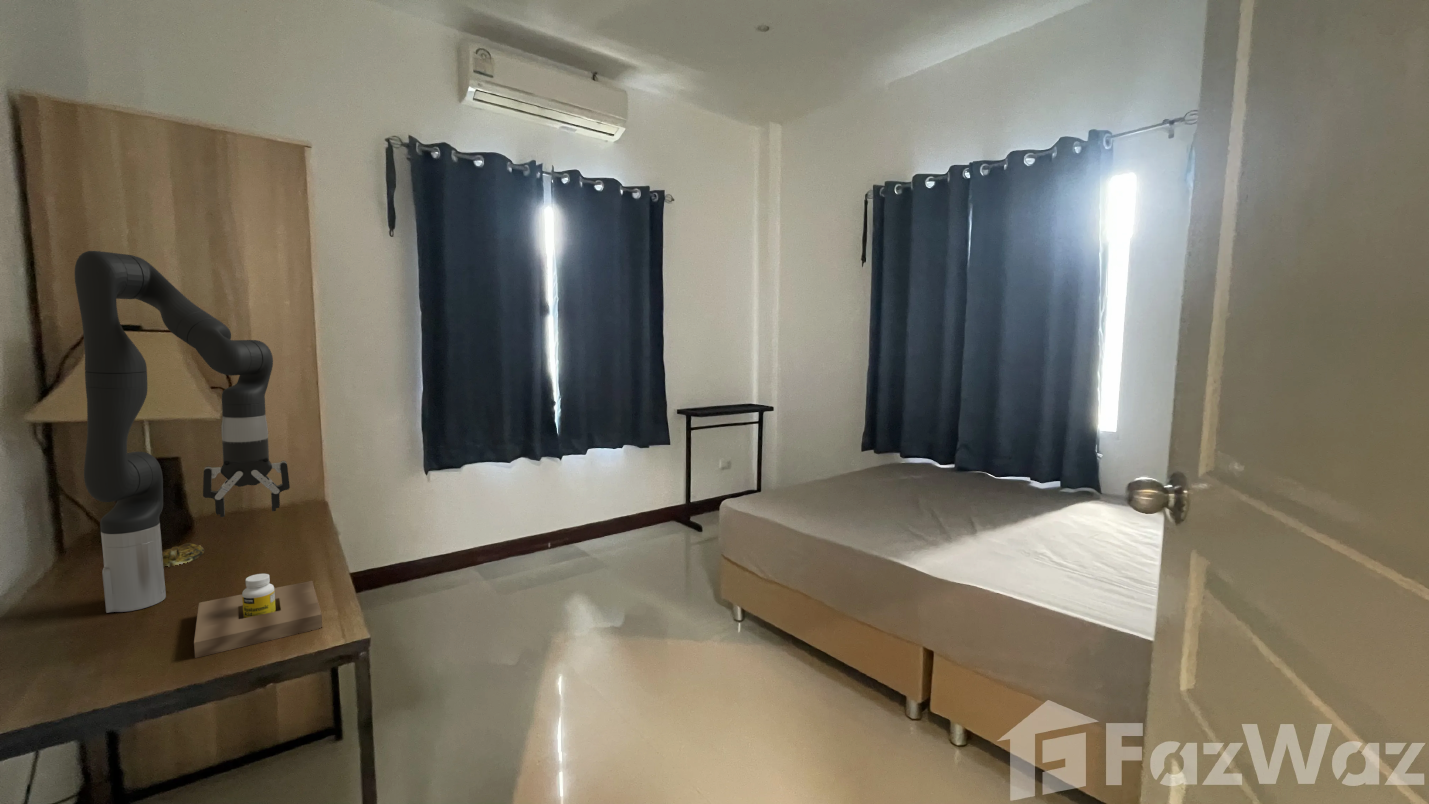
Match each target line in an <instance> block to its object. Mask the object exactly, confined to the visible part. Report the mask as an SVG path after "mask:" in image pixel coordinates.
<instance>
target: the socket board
mask: <svg viewBox="0 0 1429 804" xmlns="http://www.w3.org/2000/svg"><path fill="white" fill-rule="evenodd" d="M274 590H275V607H276V612H271V613H266V614H262V615H257V616H252V617H248V618H244V617H243V601H242V594H236V595H231V596H227V597H221V598H216V599H211V600H207V601H202V602H201V601H200V602H199V603H198V608H197V615H196V623H195V632H194V640H193V646H194V658H195V659H197V658H201V657H205V656H209V655H213V654H214V655H215V654H218V653H222V652H225V651H226V652H227V651H230V650H231V651H232V650H235V649H239V648H243V647H248V646H252V645H256V644H260V643H264V642H269V641H273V640H277V639H281V638H285V637H286V638H287V637H290V636H294V635H299V634H302V633H306V632H311V630H312V631H315V630H316V631H317V630H320V629H322V628H323V614H322V611H321V606H320V604H319V599H318V596H317V592H316V590H315V587H314V581H313V580H309V581H305V582H299V583H294V584H293V583H292V584H288V585H284V586H278V587H274ZM321 627H322V628H321ZM319 628H320V629H319ZM298 633H299V634H298Z"/></svg>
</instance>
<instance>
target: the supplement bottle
mask: <svg viewBox="0 0 1429 804" xmlns="http://www.w3.org/2000/svg"><path fill="white" fill-rule="evenodd" d="M270 578H271V577H270V574H269V573H256V574H252V575H249V576H248V577H246V578H245V588H244V589H243V591H242V601H243V617H244V618H248V617H252V616H257V615H262V614H266V613H271V612H276V607H275V590H274V588H275V586H274V584H272V583H270V581H271V580H270Z"/></svg>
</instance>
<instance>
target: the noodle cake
mask: <svg viewBox="0 0 1429 804" xmlns="http://www.w3.org/2000/svg"><path fill="white" fill-rule="evenodd" d="M203 554H205V549H204V547H203V546H201V545H200V544H195V543H184V544H181V545H179V546H172V547H171V548H169V549H165V550H164V551H162V556H163V567H165V566H168V567H167V568H171V566H174V567H176V566H175V565H178V566H180V565H179V564H181V565H183V563H185V564H188V563H190V562H192V561H195V560H197V559H199V558H200V557H201V556H202V555H203ZM187 562H188V563H187Z"/></svg>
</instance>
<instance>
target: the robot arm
mask: <svg viewBox="0 0 1429 804" xmlns="http://www.w3.org/2000/svg"><path fill="white" fill-rule="evenodd" d="M74 283H75V289H76V295H77V301H78V305H79V306H78V307H79V312H80V317H81V324H82V325H81V326H82V332H83V344H84V345H83V347H84V381H85V395H86V412H87V414H86V416H87V417H86V419H87V420H86V421H87V423H86V426H87V427H86V429H87V430H86V431H87V435H86V445H85V446H86V447H85V455H84V467H83V480H84V484H85V488H86V490H87V492H88V494H89V495H90V496H91V497H92V498H93V499H94V500H97V501H99V502H101V503H102V502H103V503H113V502H116V503H115V505H114V506H113V508H111V510H109V511H108V512H107V513H106V514H104V515H103V516H102V518H100V522H99V527H100V536H101V546H102V557H103V568H102V571H101V572H102V582H103V593H104V602H105V612H106V614H107V613H114V612H115V613H123V612H132V611H137V610H142V609H145V608H149V607H152V606H154V605H156V604H160V603H161V602H162V601H163V600H165V599H166V598H167V594H166V590H167V589H166V585H165V584H166V583H165V570H164V569H165V567H164V566H163V556H162V553H163V546H162V545H163V544H162V534H161V522H160V516H161V514H162V511H163V508H164V478H163V477H164V476H163V471H162V468H161V467H162V466H161V465H160V463H159V461H158V459H157V458H156V457H155V456H153V455H152V454H150V453H149V452H145V451H131V452H128V437H129V433H130V430H131V427H132V426H133V423H134V421H135V420H136V418H137V417H138V415H139V413H140V411H141V410H142V407H143V405H144V404H145V402H146V401H145V400H146V398H147V395H148V369H147V362H146V360H145V358H144V356H143V355H142V353H141V352H140V351H139V349H138V347H137V346H136V345H135V344H134V342H133V340H132V339H130V337H129V335H128V334H127V333H126V332H125V330H124V328H123V326H122V324H121V322H120V319H119V313H118V307H117V306H118V305H117V304H118V303H117V300H138V301H141V302H144V303H145V304H147V305H149V306H152V307H154V308H155V309H156V310H158V311H159V313H160V317H161V320H162V322H163V324H164V326H165V327H166V328H167V329H168V330H169V332H170V333H172V334H173V335H174V336H176V337H177V338H179V339H180V341H181V340H182V341H183V342H184V343H186V344H187V345H189V346H190V347H192V348H193V349H195V350H196V352H197V353H198V354H199V356H200V357H201V358H202V359H203V360H204V361H205V363H206V365H208V367H209V368H211V370H214V371H215V372H217V373H219V374H222V375H224V376H231V377H232V376H238V379H237V382H236V383H235V384H234V385H231V386H230V387H227V388H225V389H224V390H223V391H222V393H221V409H222V410H221V411H222V421H221V441H222V444H221V445H222V446H221V447H222V459H223V460H222V462H223V463H222V466H221V467H220V466H219V467H211V466H209V465H208V466H205V467H204V469H203V476H202V477H203V480H202V482H203V483H202V496H203V498H205V499H213V500H214V503H215V504H214V505H215V507H214V508H215V514H216V515H217V516H218V515H219V517H220V518H225V516H226V512H225V511H226V509H225V506H226V505H225V497H224V496H225V495H226V494H227V493H228V492H229V491H230V490H231V489H232V487H233V486H236V487H245V486H257V485H259V484H260V483H261V484H262V485H263V486H264V487H266V488H267V489H268V490H269V491H270V497H271V498H270V499H271V501H270V502H271V512H276V511H277V509H279V508H280V504H281V503H280V494H281V492H284V491H288V490H290V488H291V487H290V478H289V468H288V463H287V461H286V460H282V461H280V462H271V460H270V454H269V453H270V452H269V450H270V449H269V430H268V422H267V416H266V392H267V389H268V386H269V382H270V379H271V375H272V371H273V366H274V358H273V354H272V351H271V349H270V348H269V346H268V345H267V344H266V343H265V342H263V341H260V340H256V339H240V340H239V339H234V340H233V339H232V332H231V330H230V328H229V327H228V326H227V325H226V324H224V323H223V322H222V321H220V320H219V319H217V318H216V317H214V316H213V315H211V314H210V313H208V312H207V311H205V310H203V309H202V308H201V307H199V306H198V305H196V304H195V303H194V302H192V301H191V300H190V299H189V298H187V297H186V296H185V295H184V294H183V293H182V292H181V291H180V290H178V289H177V288H176V286H174V285H173V283H172V282H170V281H169V280H168V279H167V278H166V277H165V276H164V275H163V274H162V273H161V272H159V271H158V269H157V268H155V267H154V266H153V265H152V264H151V263H149V262H148V261H147V260H146V259H143V258H141V257H139V256H136V255H132V254H126V253H117V252H108V251H100V250H87V251H85V252H82V253H81V254H80V255H79V256H78V258H77V260H76V261H75V266H74ZM273 469H274V470H275V471H276V473H278V474H280V475H281V483H280V484H278V485H277V484H276V483H275V482H274V481H273V480H272V478H270V477H269V476H268V475H269V473H270V472H272V470H273ZM218 474H221V475H222V476H223V477H224V478H225V479H226V480H225V481H224V483H222V485H221V486H220V488H219V489H217V490H212V487H213V486H212V483H213V482H212V479H216V477H217V476H218Z"/></svg>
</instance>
